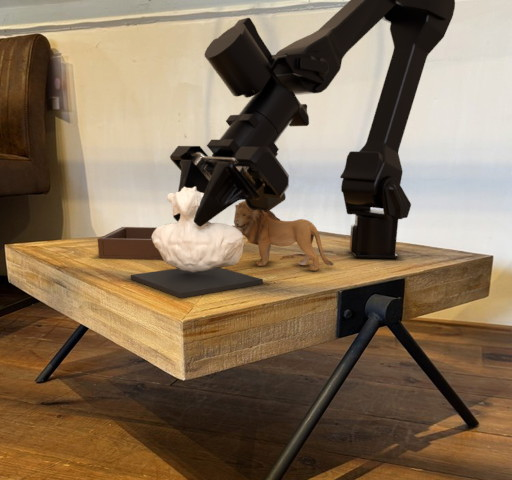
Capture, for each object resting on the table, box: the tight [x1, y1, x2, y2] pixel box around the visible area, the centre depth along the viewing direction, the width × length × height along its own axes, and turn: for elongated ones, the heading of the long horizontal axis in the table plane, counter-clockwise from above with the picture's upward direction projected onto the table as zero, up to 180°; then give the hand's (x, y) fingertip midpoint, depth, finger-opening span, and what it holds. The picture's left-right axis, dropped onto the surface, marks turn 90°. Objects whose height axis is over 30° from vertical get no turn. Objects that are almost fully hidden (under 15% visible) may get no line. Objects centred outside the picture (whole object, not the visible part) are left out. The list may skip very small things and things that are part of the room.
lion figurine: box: [233, 200, 334, 271], centre depth 81 cm, size 15×5×9 cm, turn 74°
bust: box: [152, 187, 245, 272], centre depth 70 cm, size 12×8×11 cm
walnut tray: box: [97, 226, 163, 260], centre depth 92 cm, size 18×14×3 cm
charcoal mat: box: [130, 267, 264, 299], centre depth 72 cm, size 12×12×1 cm
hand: (186, 222), depth 69 cm, fingers closed on bust, 4 cm apart
